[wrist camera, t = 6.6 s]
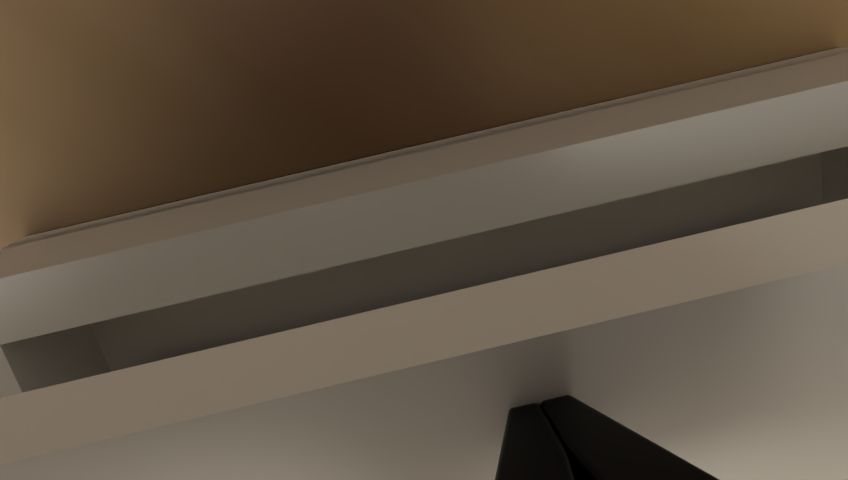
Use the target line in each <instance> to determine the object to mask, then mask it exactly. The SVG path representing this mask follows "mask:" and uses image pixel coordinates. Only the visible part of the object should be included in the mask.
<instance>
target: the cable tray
mask: <svg viewBox="0 0 848 480" xmlns="http://www.w3.org/2000/svg"><path fill="white" fill-rule="evenodd" d="M847 198H848V47H839V48H834V49H830V50H826V51H821V52H817V53H813V54H808V55H804V56H800V57H796V58H791V59H787V60H783V61H778V62H774V63H770V64H765V65H761V66H757V67H753V68H748V69H744V70H740V71H735V72H731V73H727V74H722V75H718V76H714V77H710V78H705V79H701V80H697V81H692V82H688V83H684V84H679V85H675V86H671V87H666V88H662V89H658V90H654V91H649V92H645V93H641V94H636V95H632V96H628V97H623V98H619V99H615V100H611V101H606V102H602V103H598V104H593V105H589V106H585V107H580V108H576V109H572V110H568V111H563V112H559V113H555V114H550V115H546V116H542V117H537V118H533V119H529V120H525V121H520V122H516V123H512V124H507V125H503V126H499V127H494V128H490V129H486V130H482V131H477V132H473V133H469V134H464V135H460V136H456V137H451V138H447V139H443V140H439V141H434V142H430V143H426V144H421V145H417V146H413V147H408V148H404V149H400V150H396V151H391V152H387V153H383V154H378V155H374V156H370V157H365V158H361V159H357V160H353V161H348V162H344V163H340V164H335V165H331V166H327V167H322V168H318V169H314V170H309V171H305V172H301V173H297V174H292V175H288V176H284V177H279V178H275V179H271V180H266V181H262V182H258V183H254V184H249V185H245V186H241V187H236V188H232V189H228V190H223V191H219V192H215V193H211V194H206V195H202V196H198V197H193V198H189V199H185V200H180V201H176V202H172V203H168V204H163V205H159V206H155V207H150V208H146V209H142V210H137V211H133V212H129V213H125V214H120V215H116V216H112V217H107V218H103V219H99V220H94V221H90V222H86V223H82V224H77V225H73V226H69V227H64V228H60V229H56V230H51V231H47V232H43V233H39V234H34V235H30V236H26V237H23V238H22V239H20V240H18V241H16V242H14V243H12V244H10V245H8V246H7V247H5V248H3V249H1V250H0V398H2V397H6V396H10V395H15V394H19V393H23V392H27V391H32V390H36V389H40V388H44V387H49V386H53V385H57V384H61V383H66V382H70V381H74V380H78V379H83V378H87V377H91V376H95V375H100V374H104V373H108V372H112V371H117V370H121V369H125V368H129V367H134V366H138V365H142V364H146V363H151V362H155V361H159V360H163V359H168V358H172V357H176V356H180V355H185V354H189V353H193V352H197V351H202V350H206V349H210V348H214V347H219V346H223V345H227V344H231V343H236V342H240V341H244V340H248V339H253V338H257V337H261V336H265V335H270V334H274V333H278V332H282V331H287V330H291V329H295V328H299V327H304V326H308V325H312V324H316V323H321V322H325V321H329V320H333V319H338V318H342V317H346V316H350V315H355V314H359V313H363V312H367V311H372V310H376V309H380V308H384V307H389V306H393V305H397V304H401V303H406V302H410V301H414V300H418V299H422V298H427V297H431V296H435V295H439V294H444V293H448V292H452V291H456V290H461V289H465V288H469V287H473V286H478V285H482V284H486V283H490V282H495V281H499V280H503V279H507V278H512V277H516V276H520V275H524V274H529V273H533V272H537V271H541V270H546V269H550V268H554V267H558V266H563V265H567V264H571V263H575V262H580V261H584V260H588V259H592V258H597V257H601V256H605V255H609V254H614V253H618V252H622V251H626V250H631V249H635V248H639V247H643V246H648V245H652V244H656V243H660V242H665V241H669V240H673V239H677V238H682V237H686V236H690V235H694V234H699V233H703V232H707V231H711V230H716V229H720V228H724V227H728V226H733V225H737V224H741V223H745V222H750V221H754V220H758V219H762V218H767V217H771V216H775V215H779V214H784V213H788V212H792V211H796V210H801V209H805V208H809V207H813V206H818V205H822V204H826V203H830V202H835V201H839V200H843V199H847Z"/></svg>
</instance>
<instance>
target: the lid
mask: <svg viewBox="0 0 848 480" xmlns="http://www.w3.org/2000/svg"><path fill="white" fill-rule="evenodd" d="M565 395H571V396H573V397H574V398H576V399H578V400H580V401H582V402H583V403H585V404H587V405H589V406H590V407H592V408H594V409H596V410H597V411H599V412H601V413H603V414H605V415H606V416H608V417H610V418H612V419H613V420H615V421H617V422H619V423H620V424H622V425H624V426H626V427H627V428H629V429H631V430H633V431H635V432H636V433H638V434H640V435H642V436H643V437H645V438H647V439H649V440H650V441H652V442H654V443H656V444H658V445H659V446H661V447H663V448H665V449H666V450H668V451H670V452H672V453H673V454H675V455H677V456H679V457H680V458H682V459H684V460H686V461H688V462H689V463H691V464H693V465H695V466H696V467H698V468H700V469H702V470H703V471H705V472H707V473H709V474H711V475H712V476H714V477H716V478H718V479H719V480H848V198H847V199H843V200H839V201H835V202H830V203H826V204H822V205H818V206H813V207H809V208H805V209H801V210H796V211H792V212H788V213H784V214H779V215H775V216H771V217H767V218H762V219H758V220H754V221H750V222H745V223H741V224H737V225H733V226H728V227H724V228H720V229H716V230H711V231H707V232H703V233H699V234H694V235H690V236H686V237H682V238H677V239H673V240H669V241H665V242H660V243H656V244H652V245H648V246H643V247H639V248H635V249H631V250H626V251H622V252H618V253H614V254H609V255H605V256H601V257H597V258H592V259H588V260H584V261H580V262H575V263H571V264H567V265H563V266H558V267H554V268H550V269H546V270H541V271H537V272H533V273H529V274H524V275H520V276H516V277H512V278H507V279H503V280H499V281H495V282H490V283H486V284H482V285H478V286H473V287H469V288H465V289H461V290H456V291H452V292H448V293H444V294H439V295H435V296H431V297H427V298H422V299H418V300H414V301H410V302H406V303H401V304H397V305H393V306H389V307H384V308H380V309H376V310H372V311H367V312H363V313H359V314H355V315H350V316H346V317H342V318H338V319H333V320H329V321H325V322H321V323H316V324H312V325H308V326H304V327H299V328H295V329H291V330H287V331H282V332H278V333H274V334H270V335H265V336H261V337H257V338H253V339H248V340H244V341H240V342H236V343H231V344H227V345H223V346H219V347H214V348H210V349H206V350H202V351H197V352H193V353H189V354H185V355H180V356H176V357H172V358H168V359H163V360H159V361H155V362H151V363H146V364H142V365H138V366H134V367H129V368H125V369H121V370H117V371H112V372H108V373H104V374H100V375H95V376H91V377H87V378H83V379H78V380H74V381H70V382H66V383H61V384H57V385H53V386H49V387H44V388H40V389H36V390H32V391H27V392H23V393H19V394H15V395H10V396H6V397H2V398H0V480H495V476H496V471H497V466H498V461H499V456H500V451H501V446H502V441H503V436H504V431H505V426H506V421H507V416H508V412H509V410H510V409H511V408H514V407H519V406H523V405H527V404H531V403H538V404H539V405H541V403H542V402H543V401H544V400H548V399H552V398H556V397H561V396H565Z"/></svg>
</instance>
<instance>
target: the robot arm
mask: <svg viewBox="0 0 848 480" xmlns="http://www.w3.org/2000/svg"><path fill="white" fill-rule="evenodd" d="M495 480H719V479H718V478H716V477H714V476H712V475H711V474H709V473H707V472H705V471H703V470H702V469H700V468H698V467H696V466H695V465H693V464H691V463H689V462H688V461H686V460H684V459H682V458H680V457H679V456H677V455H675V454H673V453H672V452H670V451H668V450H666V449H665V448H663V447H661V446H659V445H658V444H656V443H654V442H652V441H650V440H649V439H647V438H645V437H643V436H642V435H640V434H638V433H636V432H635V431H633V430H631V429H629V428H627V427H626V426H624V425H622V424H620V423H619V422H617V421H615V420H613V419H612V418H610V417H608V416H606V415H605V414H603V413H601V412H599V411H597V410H596V409H594V408H592V407H590V406H589V405H587V404H585V403H583V402H582V401H580V400H578V399H576V398H574V397H573V396H571V395H565V396H561V397H556V398H552V399H548V400H544V401H543V402H542V403H541V405H539V404H538V403H531V404H527V405H523V406H519V407H514V408H511V409H510V410H509V412H508V416H507V421H506V426H505V431H504V436H503V441H502V446H501V451H500V456H499V461H498V466H497V471H496V476H495Z"/></svg>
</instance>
